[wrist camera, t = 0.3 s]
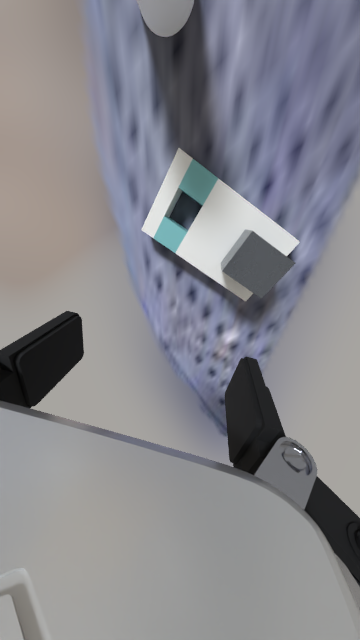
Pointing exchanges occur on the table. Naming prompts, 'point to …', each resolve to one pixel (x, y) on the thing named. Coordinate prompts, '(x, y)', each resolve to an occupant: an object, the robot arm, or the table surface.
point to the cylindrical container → (165, 15)
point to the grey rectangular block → (255, 263)
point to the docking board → (209, 221)
